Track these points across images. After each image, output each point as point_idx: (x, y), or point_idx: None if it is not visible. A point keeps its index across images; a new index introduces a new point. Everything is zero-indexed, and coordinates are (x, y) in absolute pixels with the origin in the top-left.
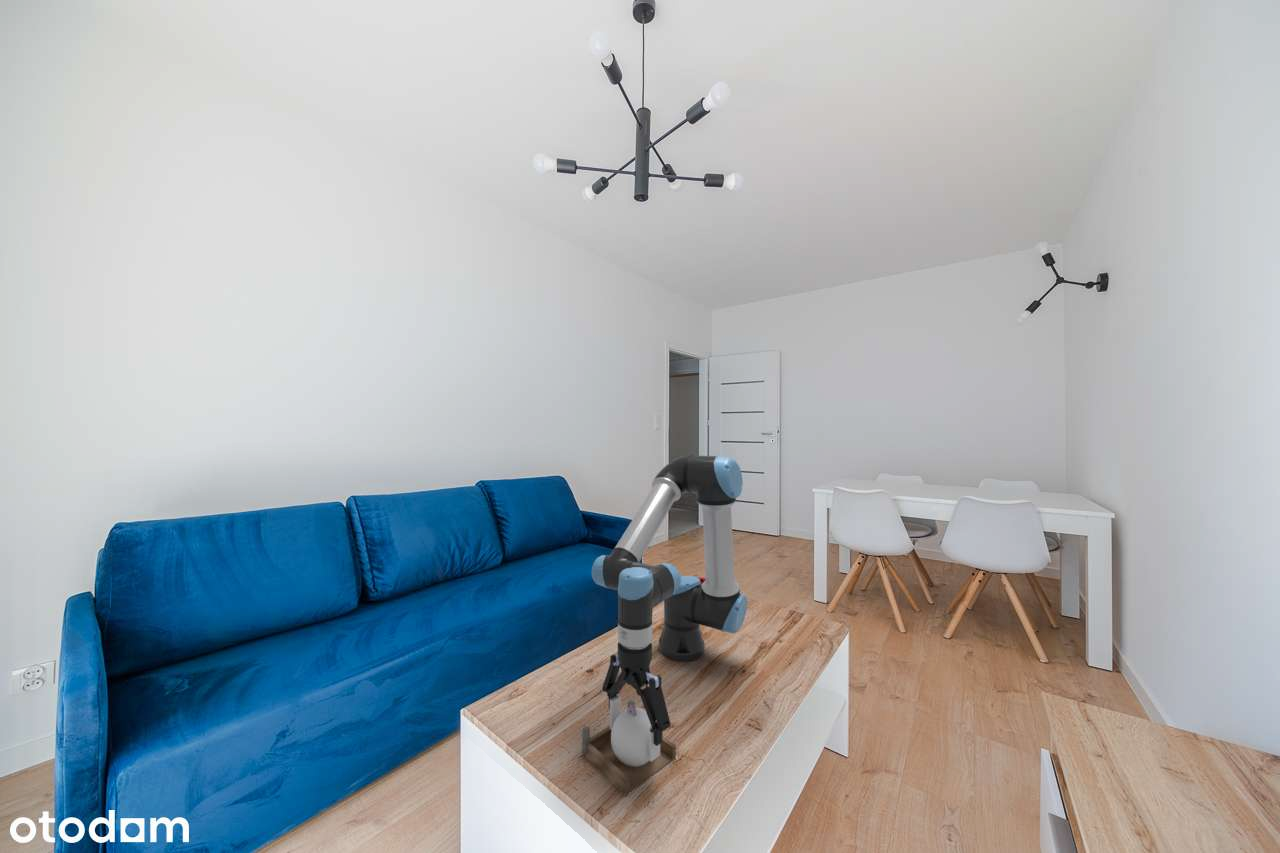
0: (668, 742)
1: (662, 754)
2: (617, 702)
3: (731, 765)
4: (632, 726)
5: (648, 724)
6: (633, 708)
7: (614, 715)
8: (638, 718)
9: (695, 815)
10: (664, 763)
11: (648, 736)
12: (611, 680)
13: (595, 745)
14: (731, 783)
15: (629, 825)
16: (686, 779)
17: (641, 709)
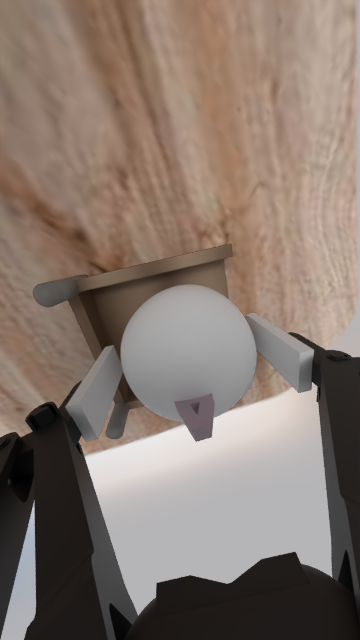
0: (213, 255)
1: (200, 268)
2: (93, 403)
3: (319, 124)
4: (230, 407)
5: (248, 358)
6: (212, 426)
7: (111, 385)
8: (227, 392)
9: (331, 293)
10: (222, 278)
11: (256, 356)
12: (11, 527)
13: (122, 380)
14: (345, 174)
15: (273, 380)
16: (273, 259)
17: (186, 359)
